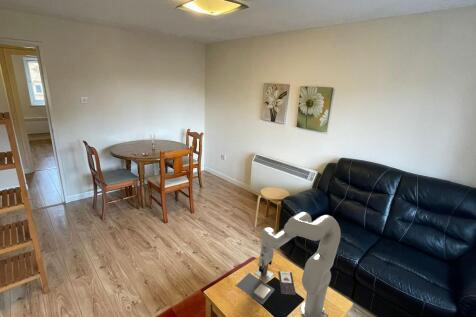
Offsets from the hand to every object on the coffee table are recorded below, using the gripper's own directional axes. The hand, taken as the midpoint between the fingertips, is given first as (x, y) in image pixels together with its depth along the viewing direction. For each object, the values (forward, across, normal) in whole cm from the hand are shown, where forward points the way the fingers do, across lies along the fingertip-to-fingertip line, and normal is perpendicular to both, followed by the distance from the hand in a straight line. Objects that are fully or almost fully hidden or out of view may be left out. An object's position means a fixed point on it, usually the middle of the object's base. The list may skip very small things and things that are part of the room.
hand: (265, 267), depth 159 cm
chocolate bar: (+6, +4, -14) cm, 16 cm away
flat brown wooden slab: (+5, 0, 0) cm, 5 cm away
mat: (+6, -13, -2) cm, 14 cm away
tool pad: (+6, 0, 0) cm, 6 cm away
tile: (+5, -13, -3) cm, 14 cm away
